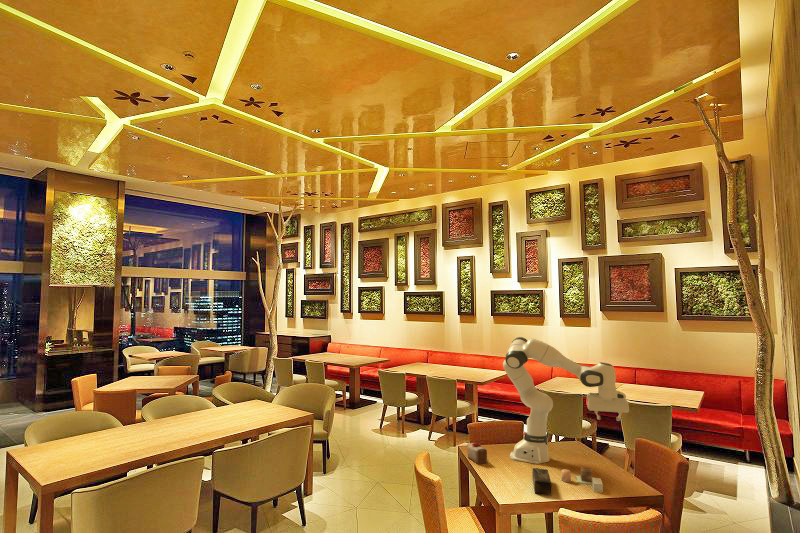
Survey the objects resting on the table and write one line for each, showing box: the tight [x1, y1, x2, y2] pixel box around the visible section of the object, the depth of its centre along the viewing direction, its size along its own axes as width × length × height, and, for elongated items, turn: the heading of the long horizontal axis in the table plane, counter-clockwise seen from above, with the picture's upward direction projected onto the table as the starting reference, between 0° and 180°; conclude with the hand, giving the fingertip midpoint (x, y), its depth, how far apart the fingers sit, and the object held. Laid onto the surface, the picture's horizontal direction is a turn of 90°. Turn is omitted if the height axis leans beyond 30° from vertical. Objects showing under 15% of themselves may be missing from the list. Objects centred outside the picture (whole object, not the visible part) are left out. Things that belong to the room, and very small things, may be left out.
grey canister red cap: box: [466, 442, 488, 465], centre depth 260 cm, size 14×8×10 cm, turn 21°
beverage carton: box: [531, 467, 552, 496], centre depth 223 cm, size 8×19×7 cm, turn 167°
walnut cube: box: [579, 466, 593, 482], centre depth 231 cm, size 5×5×5 cm
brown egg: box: [560, 468, 572, 484], centre depth 231 cm, size 4×4×5 cm
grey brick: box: [591, 477, 604, 493], centre depth 221 cm, size 8×4×4 cm, turn 163°
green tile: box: [575, 475, 595, 486], centre depth 231 cm, size 9×9×1 cm
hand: (608, 420), depth 241 cm, fingers open, 8 cm apart
